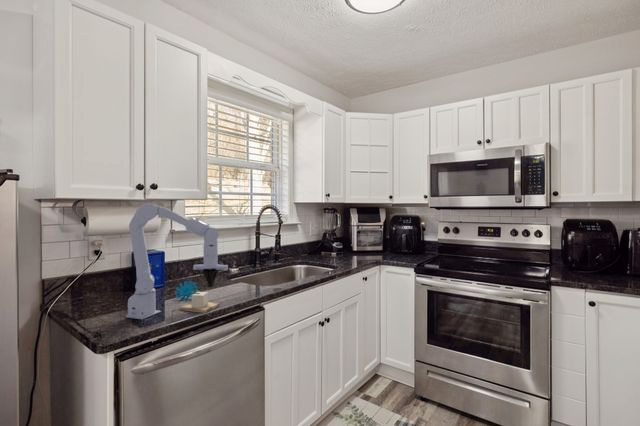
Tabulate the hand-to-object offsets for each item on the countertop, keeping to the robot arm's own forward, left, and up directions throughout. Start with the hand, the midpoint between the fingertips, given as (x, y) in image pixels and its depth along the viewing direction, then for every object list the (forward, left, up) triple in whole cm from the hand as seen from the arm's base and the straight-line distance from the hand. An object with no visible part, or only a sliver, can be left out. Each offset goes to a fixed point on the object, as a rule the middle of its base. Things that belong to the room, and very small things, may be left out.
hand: (210, 286), depth 140 cm
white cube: (-3, +3, -8) cm, 9 cm away
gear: (+7, +18, -9) cm, 21 cm away
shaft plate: (-3, +3, -9) cm, 10 cm away
